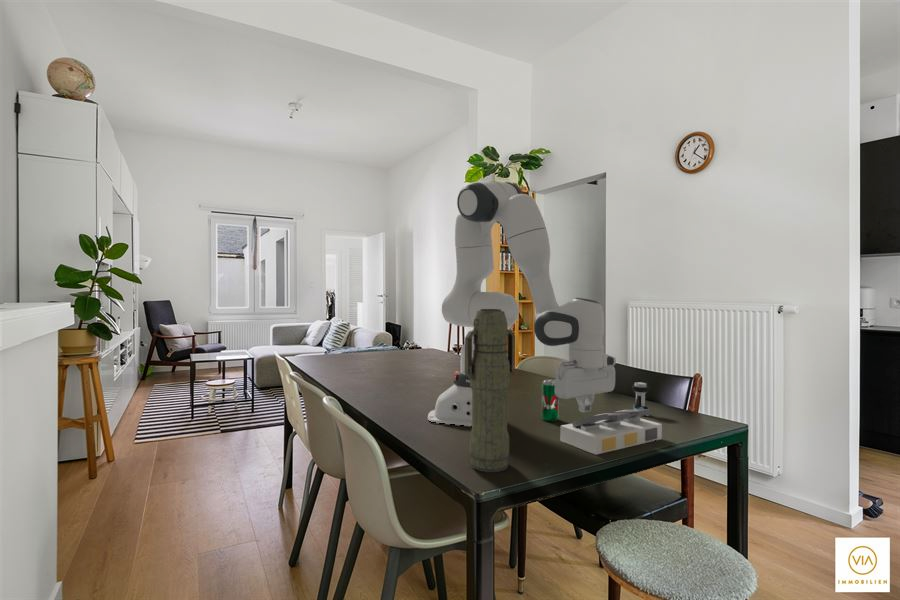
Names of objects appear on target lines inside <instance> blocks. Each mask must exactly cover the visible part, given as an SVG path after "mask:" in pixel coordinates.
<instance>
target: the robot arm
mask: <svg viewBox="0 0 900 600" xmlns="http://www.w3.org/2000/svg"><path fill="white" fill-rule="evenodd" d="M456 200H457V201H456V205H457V210H458V212H459V213H458V215H457V216H456V219H455V228H454V247H455V248H454V249H455V257H456V259H455V260H456V276H455V280H454V281H455V282H454V284H453V287H452V289H451V290H450V292H449V293H448V294H447V295H446V296H445V298H444V299H443V301H442V304H441V314H442V317H443V318H444V320H445V322H446V323H449V324H451V325H455V326H457V327H466V328H474V319H475V316H476V313H477V311H480V309H501V311H504V313H505V316H506V320H507V329H510V328H511V327H512V326H513V325H514V324H515V323H516V321H517V320H518V317H519V313H520V310H519V309H520V308H519V307H520V306H519V304H518V302H517V300H516V298H515V297H514V296H513V295H511V294H508V293H504V292H499V291H482V283H483V281H484V280H486V279H487V278H489V277H490V276H491V275H492V273H493V271H494V269H495V268H494V267H495V266H494V264H495V263H494V253H493V243H492V242H493V240H492V228H493V226H494V224H496V223H497V224H500V225H501V227H502V230H503V233H504V236H505V240H506V243H507V247H508V251H509V252H510V254H511V257H512V259H513V261H514V263H515V264H516V266H517V268H518V269H519V270H520V272H521V273H522V274H523V276H524V277H525V279H526V281H527V284H528V288H529V290H530V295H531V299H532V303H533V305H534V308H535V309H534V311H535V317H534V322H533V330H534V334H535V337H536V338H537V340H538V341H539V342H540V343H542V344H543V345H545V346H547V347H558V346H562V345H568V361H562V362H561V364H560V365H559V366H558V367H557V371H556V374H555V379H554V380H555V395H556V396H557V397H559V398H560V399H564V400H568V399H572V398H575V400H576V402H577V404H578V411H579V412H581V413H586V412H591V411H592V405H593V404H594V401H595V398H596V397H595V395H597V394H603V393H609V392H612V391H613V390H614V389H615V387H616V368H615V365H616V361H617V360H616V357H614V356H612V355H610V354H607V353H606V352H604V348H605V347H604V343H603V339H604V338H603V337H604V334H605V317H604V309H603V306H602V304H600V303H599V302H598V301H596V300H594V299H589V298H583V297H574V298H572V299H571V300H570V301H568V302H566V303H564V304H562V305H560V306H559V304H558V302H557V298H556V296H555V293H554V288H553V285H552V281H551V276H550V262H551V261H550V260H551V247H550V239H549V234H548V229H547V226H546V224H545V221H544V218H543V215H542V213H541V211H540V208H539V205H538V203H537V202H536V199H534V197H533V196H531V195H529V194H527V193H524V192H523V190H522V188H520V187H519V186H518V185H516V184H514V183H512V182H508V181H505V182H502V181H493V180H492V181H483V182H472V183H468V184H466V185H464V186H463V187H462V188H461V190H460V191H459V193H458V195H457V199H456ZM473 350H474V344H473V338H472V358H473ZM613 392H614V391H613ZM428 420H429V421H431V422H436V423H435V424H439V423H445V424H444V425H450V424H455V425H454V426H460V425H464V426H463V427H471V426H472V389H471V387H470V378H469V377H468V376H467V375H466V374H465V343H464V344H463V345H462V346H461V349H460V371H455V372H454V373H453V385H451V386H450V387H449V388H447V389H446V390H445V391H444V392H443V393H442V392H441V394H440V395H439V396H438V397H437V399H436V403H435V406H434V409H432V410H430V411H429V412H428V414H427V421H428ZM429 421H428V422H429ZM431 422H430V423H431Z"/></svg>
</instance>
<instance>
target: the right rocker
mask: <svg viewBox="0 0 900 600" xmlns="http://www.w3.org/2000/svg"><path fill="white" fill-rule="evenodd" d="M613 413H630V416H640V417H643V416H642V415H647V414H648V415H651V414H652V412H651V409H649V408H648V409H641V410H633V409H623V410H617V411H613Z"/></svg>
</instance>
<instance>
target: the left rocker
mask: <svg viewBox="0 0 900 600" xmlns="http://www.w3.org/2000/svg"><path fill="white" fill-rule="evenodd" d="M602 414H603V415H599V414H596V415H597V416H594V415H593V416H589V417H587V418H583V419H580V420H575V421H573V422H572V423H571V424H573V427H578V426H581V425H586V424H591V423H595V422H598V421H602V420H605V419H609V416H608V414H605V413H602Z"/></svg>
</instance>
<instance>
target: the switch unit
mask: <svg viewBox="0 0 900 600" xmlns="http://www.w3.org/2000/svg"><path fill="white" fill-rule="evenodd" d="M559 429H560V431H559V432H560V434H559V435H560V438H559V439H560V440H559V441H560V442H563V443H565V444H568V445H570V446H573V447H575V448H578V449H579V450H582V451H585V452H588V453H591V454H593V455H600V454H605V453H608V452H615V451H618V450H621V449H626V448H629V447H634V446H635V447H636V446H639V445H641V444H642V445H643V444H646V443H652V442H654V441H655V440H656V441H659V440H662V438H663V436H662V435H663V432H662V431H663V424H662V423H659V422H656V421H652V420H648V419H645V418H641V416H631V418H626V419H621V420H602V421H598V422H595V423H591V424H586V425H581V426H578V427H573V424H572V423H568V424H562V425H560V428H559ZM656 441H655V442H656Z"/></svg>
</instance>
